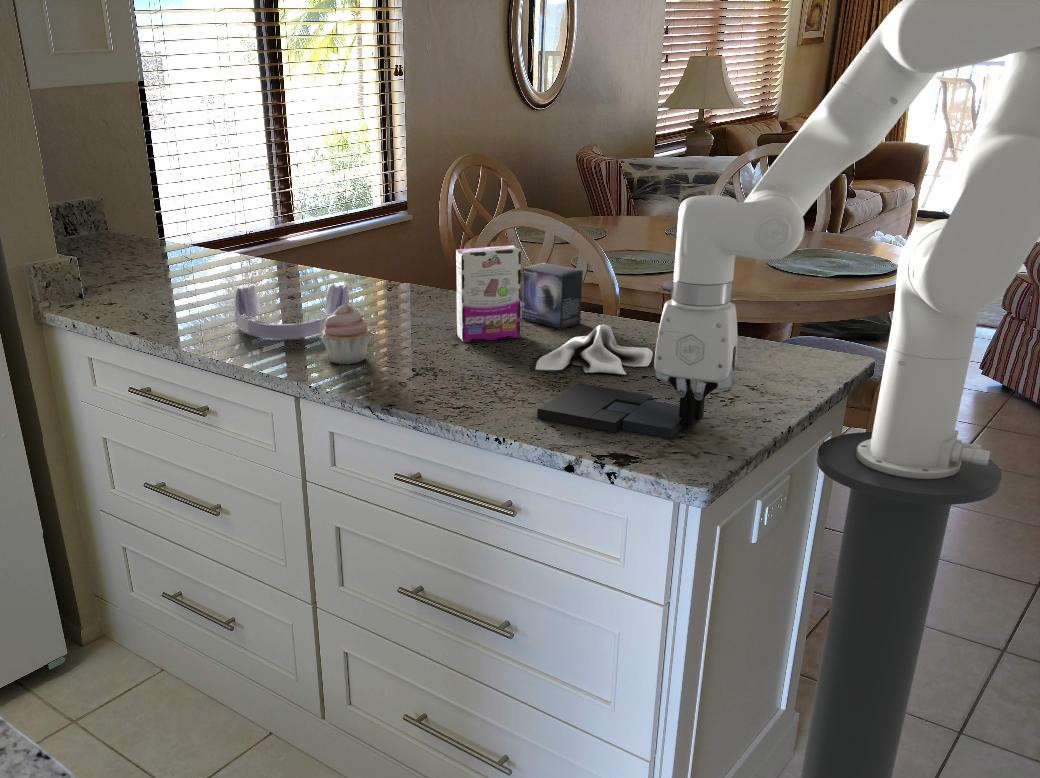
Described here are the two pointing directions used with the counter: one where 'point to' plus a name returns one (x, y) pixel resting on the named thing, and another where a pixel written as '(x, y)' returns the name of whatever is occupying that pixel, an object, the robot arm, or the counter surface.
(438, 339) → the counter surface
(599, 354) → the cloth
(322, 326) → the headphones
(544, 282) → the small box
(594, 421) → the black notched block
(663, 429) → the charcoal pad
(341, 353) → the cupcake
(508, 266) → the candy bar box
